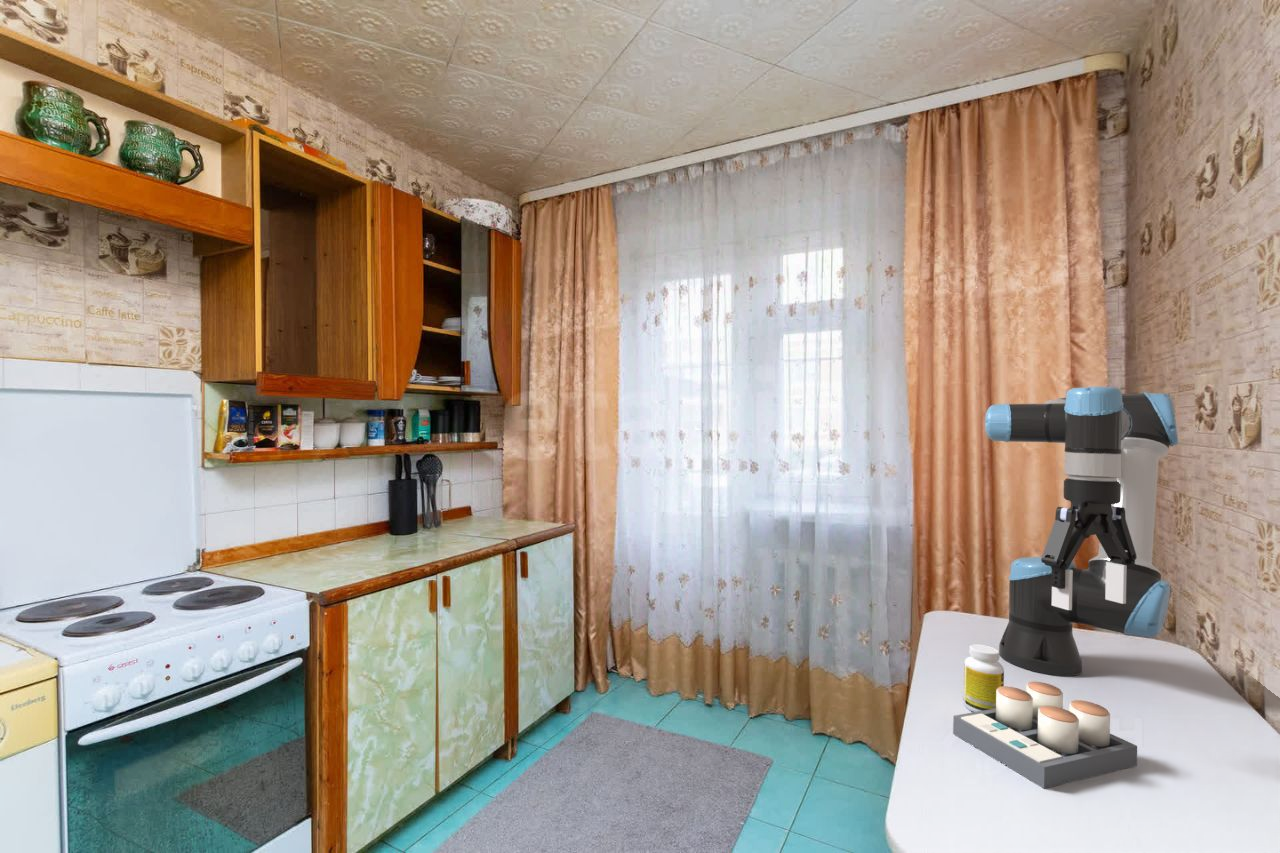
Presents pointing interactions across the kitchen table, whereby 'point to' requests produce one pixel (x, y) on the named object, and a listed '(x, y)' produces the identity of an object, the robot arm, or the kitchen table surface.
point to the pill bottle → (982, 678)
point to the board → (1041, 751)
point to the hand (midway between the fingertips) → (1089, 604)
